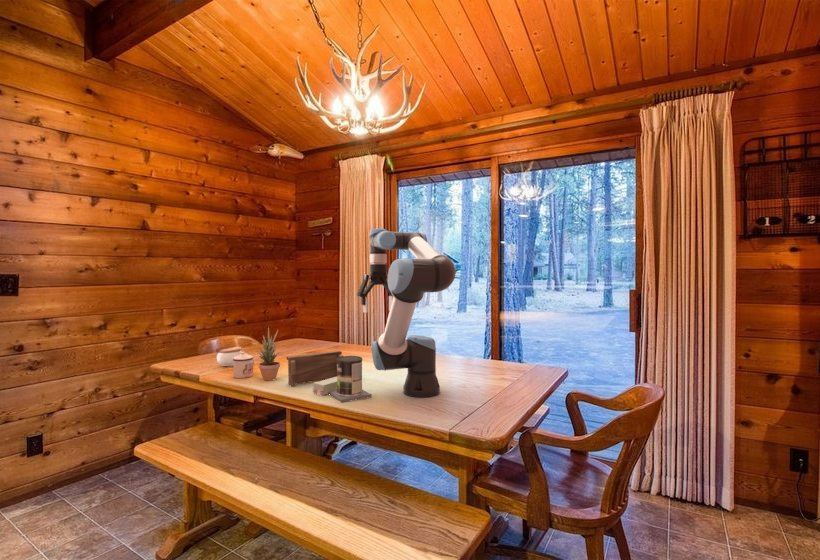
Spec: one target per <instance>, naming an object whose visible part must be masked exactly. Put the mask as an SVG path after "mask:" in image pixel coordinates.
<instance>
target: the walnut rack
mask: <svg viewBox="0 0 820 560" xmlns="http://www.w3.org/2000/svg"><path fill="white" fill-rule="evenodd" d="M343 356H344V355H343V354H342V351H341V350H333V351H324V352H316V353H315V352H314V353H307V354H300V355H299V354H298V355H290V356H286V361H287V365H288V367H287V369H288V371H287V372H288V381H287V382H288V385H289V386H290V385H291V386H290V387H291V388H294V386H295V387H297V384H296V383H298V384H304V383H303V382H305V383H310V382H309V381H312V382H318V381H322V380H324V379H325V380H326V379H329V378H333V377H337V358H339V357H343ZM317 380H318V381H317Z"/></svg>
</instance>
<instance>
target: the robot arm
mask: <svg viewBox="0 0 820 560" xmlns="http://www.w3.org/2000/svg"><path fill="white" fill-rule="evenodd" d="M387 250H394V251H395V250H396V251H397V250H398V251H399V250H400V251H401V250H402V251H408V250H409V252H411V254H412V255H413V256H414V257H415V258H408V257H405V258H397V259H395V260H393V262H392V263H391V264H390V266H389V268H388V267H387V266H388V265H387V262H388V255H387V253H388V252H387ZM369 263H370V264H369V274H364V275H363V279H362V281H361V284H360V287H359V289H358V291H357V293H356V296H358V297H360V300H361V301H360V302H361V305H362V313H366V314H367V313H368V312H369V310H368V308H369V307H368V306H369V305H368V303H369V302H368V297H367V296H368V295H369V293H370V292H371V290H372V289H373V288H374V286H375V285H376V286H379V285H381V286H383V287H384V288H385V289H384V290H386V291H387V293H388V294H389V295H388V311H389V313H388V316H387V320H386V324H385V328H384V332H383V333H382V334H381V335H379V337H378V340H375V341H372V343H371V354H372V355H371V356H372V361H373V365H374V368H375V369H376V370H377V371H384V372H385V371H391V370H401V369H407V374H406V378H405V382H404V384H403V393H404V394H405V395H406V396H409V397H415V398H431V397H435V396H437V395H440V393H441V386H440V382H439V380H438V376H437V374H436V373H437V372H436V370H437V368H436V367H437V366H436V359H437V358H436V357H437V354H436V353H437V348H436V340H435V339H434V338H432V337H429V336H424V335H416V334H410V335H408V332H409V328H410V325H411V323H412V319H413V315H414V312H415V309H416V306H417V303H419V302H421V301H422V300H423V297H424V295H425V293H439V292H442V291H445V290H447V289H448V288H449V287H450V286H451V285H453V282H454V280H455V278H456V274H457V273H456V272H457V271H456V267H455V264H454V262H453V261H452V260H451V258H449V257H448V256H446V255H444V254H441V253H439V252H438V251H437V249H435V248H434V247H432V245H430V244H429V243H428V237H427V234H426V233H424V232H419V231H415V232H412V231H409V232H408V231H406V232H405V231H403V232H402V231H390V230H386V229H385V228H371V229H370V230H369ZM369 280H370V281H369Z"/></svg>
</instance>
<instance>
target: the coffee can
mask: <svg viewBox="0 0 820 560" xmlns="http://www.w3.org/2000/svg"><path fill="white" fill-rule="evenodd" d="M362 389H363V357H362V356H357V355H343V357H339V358H337V394H338V395H340V396H345V397H351V396H357V395H360V394H362Z"/></svg>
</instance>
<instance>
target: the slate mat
mask: <svg viewBox="0 0 820 560" xmlns="http://www.w3.org/2000/svg"><path fill="white" fill-rule="evenodd" d="M329 394H330V396H331V397H333V398H334V399H335V400H337V401H338V402H340V403H345V401H347V402H351V401H350V400H352V401H356V400H355V399H357V400H362V399H361V398H363V399H367V397H368V398H372V394H371V393H369V392H368V391H366V390H364V389H363V388H362V394H360V395H357V396H351V397H345V396H340V395H338V394H337V390H335V391H329ZM329 394H328V395H329Z"/></svg>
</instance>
